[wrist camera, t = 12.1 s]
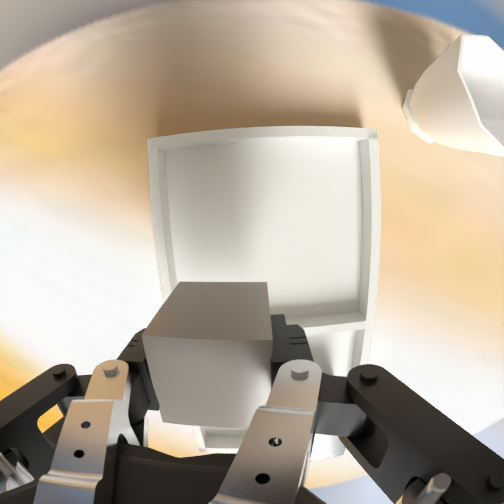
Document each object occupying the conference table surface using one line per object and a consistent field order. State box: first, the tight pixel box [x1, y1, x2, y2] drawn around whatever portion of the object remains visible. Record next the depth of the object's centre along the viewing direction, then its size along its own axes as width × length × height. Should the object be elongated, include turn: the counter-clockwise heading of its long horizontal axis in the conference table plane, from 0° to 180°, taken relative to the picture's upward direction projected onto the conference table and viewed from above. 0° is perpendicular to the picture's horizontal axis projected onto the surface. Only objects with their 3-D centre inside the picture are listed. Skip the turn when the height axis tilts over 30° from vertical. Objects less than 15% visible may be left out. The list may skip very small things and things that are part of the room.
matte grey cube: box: [311, 434, 345, 460], centre depth 18 cm, size 4×4×5 cm
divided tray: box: [147, 126, 381, 452], centre depth 18 cm, size 13×24×2 cm, turn 3°
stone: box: [142, 282, 273, 428], centre depth 11 cm, size 4×4×5 cm
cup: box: [402, 34, 504, 157], centre depth 12 cm, size 7×10×8 cm
